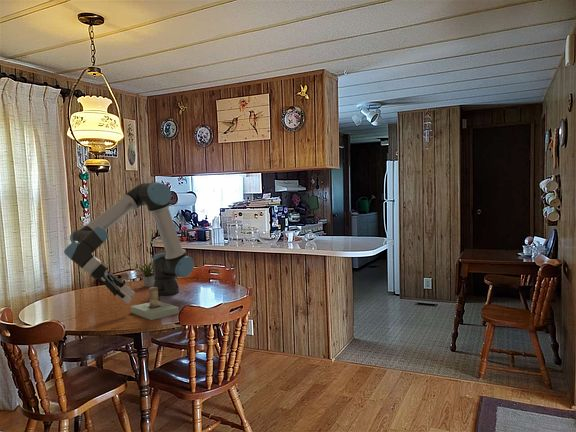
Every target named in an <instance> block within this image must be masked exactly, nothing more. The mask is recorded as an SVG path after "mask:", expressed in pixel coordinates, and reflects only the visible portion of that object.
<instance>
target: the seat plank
mask: <svg viewBox="0 0 576 432" xmlns="http://www.w3.org/2000/svg"><path fill="white" fill-rule="evenodd" d="M158 303H159V307H158V308H150V301H149V302H145V303H141V304H140V303H139V304H136V305H135V304H134V305H131V306H130V313H131V314H133V315H136V316H139V317H142V318H144V319H148V320H151V321H153V320H157V319H162V318H165V317H169V316H173V315H179V314H180V312H179V311H180V307H179V306H176V305H173V304H169V303H166V302H163V301H160V300H158ZM178 313H179V314H178Z"/></svg>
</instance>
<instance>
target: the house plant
mask: <svg viewBox="0 0 576 432" xmlns="http://www.w3.org/2000/svg"><path fill="white" fill-rule="evenodd" d="M146 262H147V264H146ZM146 262H144V261H142V262H141V263H142V264H140V266H141V267H140V266H137V268H138V269H139V271H140V272H142V273H143V274H144V275H142V281H143V284H144V287H146V288H148V287H149V288H151V287H153V283H154V262H153V260H151V261H150V262H149V261H148V260H146Z"/></svg>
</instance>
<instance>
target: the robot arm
mask: <svg viewBox="0 0 576 432" xmlns="http://www.w3.org/2000/svg"><path fill="white" fill-rule="evenodd" d="M171 198H172V192H171V189H170V188H169V186H168V185H167V184H165V183H164V182H158V181H154V182H144V183H143V182H142V183H139V184H137V185H136V186H134V187H133V188H131V189H129V191H127V192H126V193H124V194H123V196H122V198H121V199H120V200H119V201H117V202H116V203H115V204H113V205H111V206H110V207H109V208H107V209H106V210H105V211H103V212H102V213H101V214H98V216H96V218H94V219H92V220H91V221H90V222H89V223H87V224H86V225H84V226H83V227H81V228H79V229H76V230H73V231H72V232H71V233H70V234H69V241H70V244H68V245H67V247H65V249H64V250H63V253H64V255H66V257H68V258H69V259H70V260H71V261H72V262H73V263H74V264H76V265H77V266H78V267H80V268H81V269H82V270H83V272H84V273H85V272H86V273H87V274H89V275H90V277H91V278H93V279H94V280H96V281H97V280H98V279H99V281H100V282H101V283H102V284H103V285H104V286H105V287H106V288H107V289H108V290H109V291H110V293H112V294H113V296H114V297H116V296H117V297H119V298H120V299H121V300H122V301H124V303H125V304H127V305H128V304H130V302H132V300H133V299H132V297H133V296H134V295H135V294H136V292H135V291H134V290H132V288H131V287H129V286H128V285H127V284H126V281H123V280H122V279H121V278H118V277H117V276H116V275H114V274H113V273H112V272H110V271H108V269H109V268H108V266H107V265H106V264H105V263H103V262H102V261H101V260H100V259H99V258H98V257H96V256H95V255H94V252H95V251H96V250H98V248H99V247H101V246H102V245H103V244H104V243H105V242H106V240H108V238H109V233H108V231H107V229H109V228H110V227H112V226H113V225H114V224H115V223H117V222H118V221H119V220H121V219H122V218H123V217H125V215H127V214H129V213H130V212H131V211H132V210H133V211H134V210H135V211H136V210H137V209H138V208H140V207H142V206H143V207H144V206H146V209H147V210H148V212H150V213H152V215H153V218H154V222H155V224H156V228H157V230H158V232H159V235H160V238H161V241H162V245H163V248H164V251H165V252H161V253H155V254H154V255H153V257H152V259H153V260H152V263H154V265H153V266H154V267H153V270H154V271H153V275H154V283H153V286H152V287H158V297H159V296H171V295H175V294H178V293H180V287H179V284H178V282H177V279H176V277H177V278H187V277H189V276H190V275H191V274H192V272H193V270H194V269H195V268H194V267H195V262H194V259H193V258H192V257H190V256H189V255H188V253H187V251H186V249H185V248H182V244H181V242H180V237H179V235H178V232H177V229H176V226H175V224H174V221H173V217H172V214H171V212H170V211H171V210H170V209H169V207H170V206H171V202H170V201H171Z"/></svg>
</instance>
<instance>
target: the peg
mask: <svg viewBox="0 0 576 432" xmlns="http://www.w3.org/2000/svg"><path fill="white" fill-rule="evenodd" d="M148 296H149V298H148V299H149V302H150V308H158V307H159V303H158V301H159V295H158V287H153V286H150V287H149V288H148Z"/></svg>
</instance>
